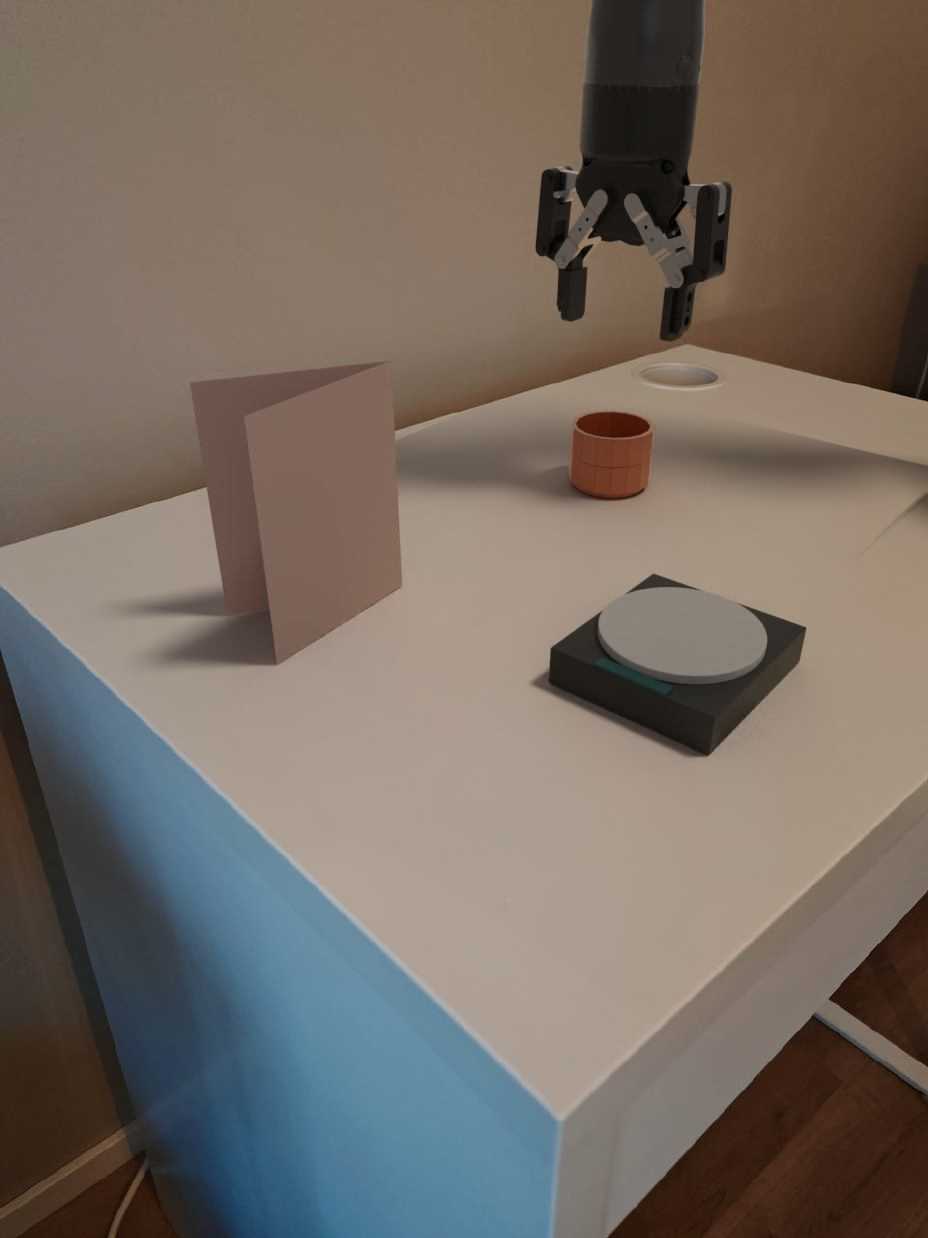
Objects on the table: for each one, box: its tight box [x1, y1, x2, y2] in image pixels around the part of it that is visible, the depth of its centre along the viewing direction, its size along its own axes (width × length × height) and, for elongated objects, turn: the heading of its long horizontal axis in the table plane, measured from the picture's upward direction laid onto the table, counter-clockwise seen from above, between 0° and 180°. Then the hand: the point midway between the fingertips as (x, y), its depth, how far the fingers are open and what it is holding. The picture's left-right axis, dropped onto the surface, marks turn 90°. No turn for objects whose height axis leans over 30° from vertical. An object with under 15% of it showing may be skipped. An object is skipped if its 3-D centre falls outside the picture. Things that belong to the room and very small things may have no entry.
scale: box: [548, 573, 807, 756], centre depth 54 cm, size 11×10×3 cm
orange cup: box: [567, 410, 656, 499], centre depth 76 cm, size 6×6×5 cm
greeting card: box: [189, 360, 403, 665], centre depth 56 cm, size 11×7×15 cm, turn 109°
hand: (619, 328), depth 71 cm, fingers open, 8 cm apart
